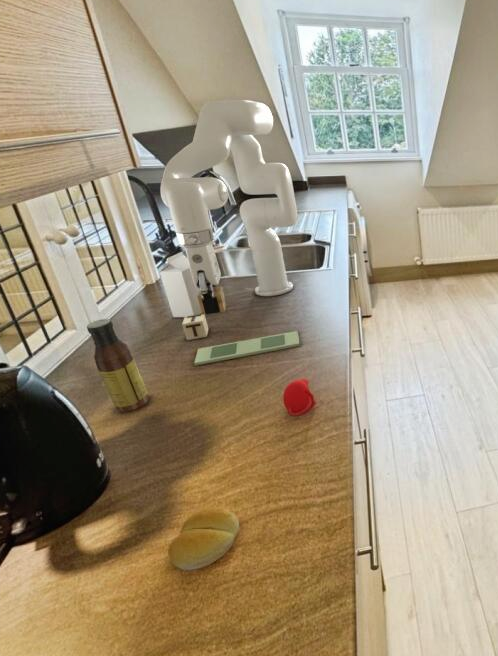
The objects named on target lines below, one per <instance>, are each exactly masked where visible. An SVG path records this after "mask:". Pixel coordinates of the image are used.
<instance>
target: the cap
mask: <svg viewBox="0 0 498 656" xmlns="http://www.w3.org/2000/svg"><path fill="white" fill-rule="evenodd" d="M310 390H311V389H310V386H309V380H308V379H306V378H300V379H296V380H293V381H291V382H290V383H289V384H287V386H286V387H285V389H284V391H283V395H282V396H283V397H282V398H283V399H282V400H283V405H284V407H285V409H286V411H287V414H288V415H290V416H292V417H300V416H303V415H306V414H308V413H309V412H310V411H312V409H313V408H314V406H315V405H316V403H317V402H316V400H315V396H314V394H313V393H312V392H311V391H310Z"/></svg>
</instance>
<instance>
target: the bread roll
mask: <svg viewBox="0 0 498 656" xmlns="http://www.w3.org/2000/svg"><path fill="white" fill-rule="evenodd" d="M239 522H240V521H239V518H238V516H237V515H236V514H235V513H234V512H233V511H232V510H229V509H228V508H224V507H219V506H218V507H217V506H212V507H210V506H209V507H206V508H203V509H200V510H198V511H196V512H195V513H193V514H192V515H190V516H189V517H187V519H186V520H185V521H184V522H183V524H182V526H181V528H180V532H179V535H178V536H176V537H175V538H174V539H173V540H172V541H171V542H170V545H169V547H168V551H167V555H168V559H169V561H170V562H171V564H172V565H174V566H175V567H177V569H180V570H182V571H196V570H199V569H203V568H205V567H208V566H209V565H211V564H213V563H214V562H215V561H217V560H219V559H221V558H222V557H223V556H225V554H226V553H227V552H228V551H229V550H230V548H231V547H232V545H234V544H233V543H234V541H235V539H236V536H237V534H238V532H239V528H240V523H239Z"/></svg>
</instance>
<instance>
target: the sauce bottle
mask: <svg viewBox="0 0 498 656" xmlns="http://www.w3.org/2000/svg"><path fill="white" fill-rule="evenodd" d="M86 329H87V333H89V334H90V336H91V338H92V341H93V344H94V354H93V359H94V361H95V365H96V368H97V371H98V373H99V375H100V378H101V379H102V382H103V384H104V387H105V389H106V390H107V393H108V395H109V397H110V399H111V401H112V404H113V406H114V407H115V408H116V410H117V411H119V412H131V411H132V412H133V411H134V410H137V409H140V408H141V407H143V406H145V405H146V404H147V403H148V402H149V400H150V397H149V394H148V390H147V387H146V385H145V382H144V380H143V378H142V376H141V373H140V371H139V368H138V365H137V363H136V361H135V358H134V356H133V355H132V352H131V349H129V346H128V344H126V343H125V342H124V341H122V340H120V339H119V337H118V335H117V334H116V331H115V330H114V324H113V322H112V320H111V319H110V318H103V319H102V318H101V319H97V320H94V321H93V320H92V322H89V323H88V324H87V325H86Z"/></svg>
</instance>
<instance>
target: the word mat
mask: <svg viewBox="0 0 498 656" xmlns="http://www.w3.org/2000/svg"><path fill="white" fill-rule="evenodd" d="M297 347H300V337H299V332H298V330H295V331H289V332H284V333H278V334H273V335H267V336H262V337H256V338H250V339H246V340H239V341H235V342H234V341H233V342H228V343H223V344H217V345H212V346H206V347H200V348H197V351H196V356H195V359H194V362H193V364H194V366H201V365H205V364H212V363H216V362H222V361H227V360H231V359H232V360H233V359H237V358H243V357H248V356H253V355H259V354H264V353H270V352H275V351H280V350H285V349H291V348H297Z"/></svg>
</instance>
